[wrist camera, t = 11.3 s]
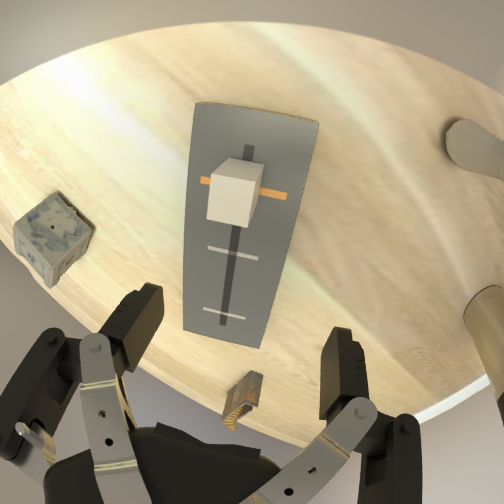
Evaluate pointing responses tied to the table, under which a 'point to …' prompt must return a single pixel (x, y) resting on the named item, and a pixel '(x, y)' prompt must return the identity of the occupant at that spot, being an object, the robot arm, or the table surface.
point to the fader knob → (234, 192)
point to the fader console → (236, 237)
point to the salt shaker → (475, 149)
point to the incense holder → (51, 238)
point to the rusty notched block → (242, 399)
